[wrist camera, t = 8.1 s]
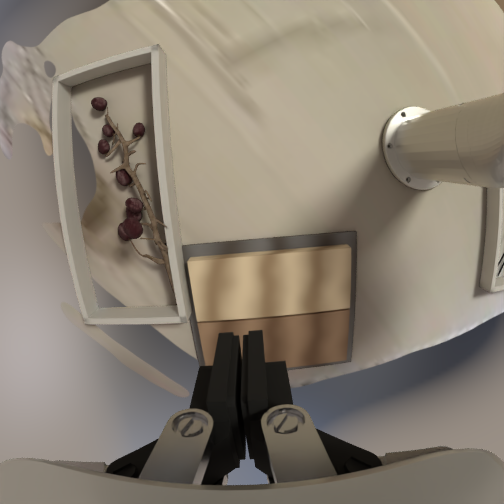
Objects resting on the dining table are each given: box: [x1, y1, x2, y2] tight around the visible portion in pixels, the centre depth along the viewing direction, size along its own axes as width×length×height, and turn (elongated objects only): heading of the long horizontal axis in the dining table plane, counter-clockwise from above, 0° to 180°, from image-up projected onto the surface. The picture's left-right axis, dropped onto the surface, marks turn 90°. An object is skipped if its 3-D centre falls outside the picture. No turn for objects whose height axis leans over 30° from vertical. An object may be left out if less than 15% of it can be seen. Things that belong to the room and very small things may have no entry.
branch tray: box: [52, 44, 192, 324], centre depth 38 cm, size 17×38×4 cm, turn 5°
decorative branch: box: [91, 97, 175, 294], centre depth 38 cm, size 11×9×30 cm
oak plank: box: [187, 244, 351, 322], centre depth 42 cm, size 22×9×2 cm, turn 95°
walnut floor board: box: [182, 231, 357, 370], centre depth 43 cm, size 25×22×2 cm
